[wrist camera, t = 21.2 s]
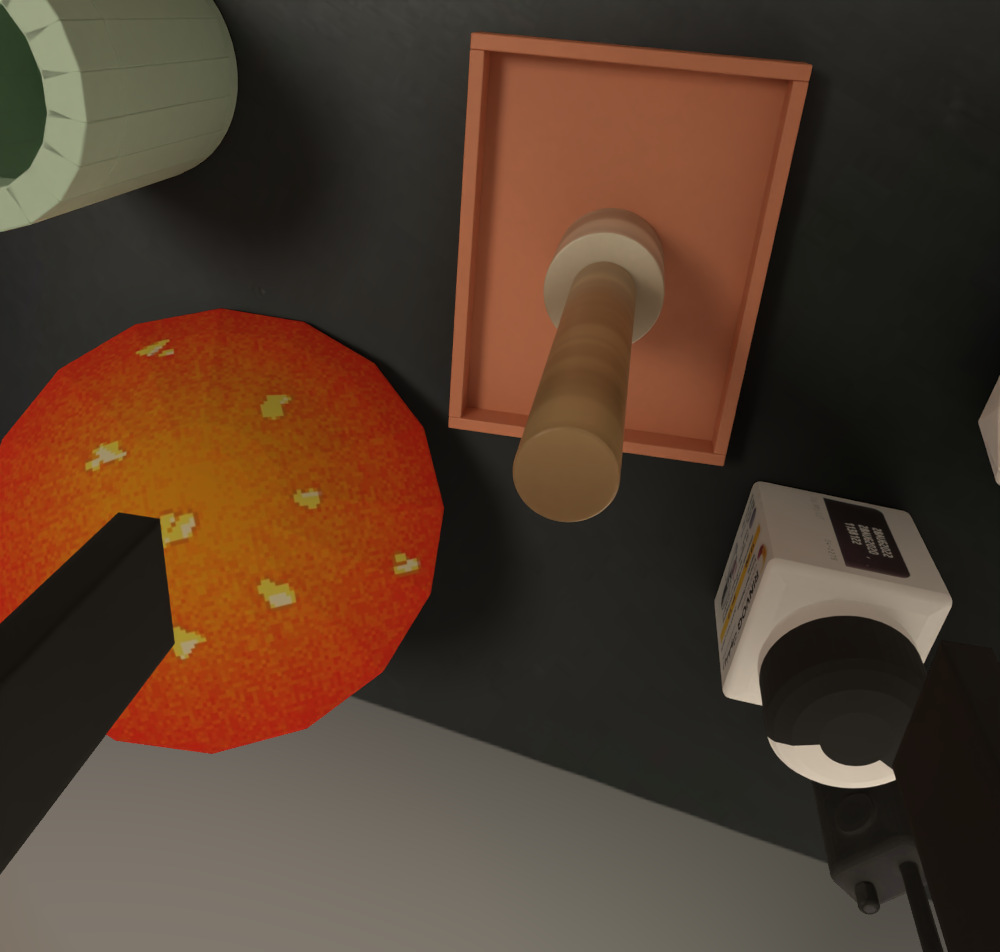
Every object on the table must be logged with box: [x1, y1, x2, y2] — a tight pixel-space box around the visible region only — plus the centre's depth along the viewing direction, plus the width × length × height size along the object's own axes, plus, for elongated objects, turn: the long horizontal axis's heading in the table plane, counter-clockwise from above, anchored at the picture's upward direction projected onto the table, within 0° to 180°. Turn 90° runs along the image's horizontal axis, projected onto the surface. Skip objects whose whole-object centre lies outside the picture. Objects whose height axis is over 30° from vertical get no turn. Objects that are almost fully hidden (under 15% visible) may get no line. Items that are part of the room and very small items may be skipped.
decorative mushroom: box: [0, 308, 444, 754], centre depth 41 cm, size 15×21×15 cm
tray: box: [448, 32, 812, 466], centre depth 39 cm, size 17×13×2 cm
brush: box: [513, 208, 665, 522], centre depth 31 cm, size 5×5×21 cm
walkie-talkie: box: [812, 780, 944, 952], centre depth 44 cm, size 5×3×15 cm
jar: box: [0, 0, 238, 232], centre depth 35 cm, size 10×10×12 cm
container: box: [715, 481, 952, 788], centre depth 40 cm, size 8×8×13 cm
